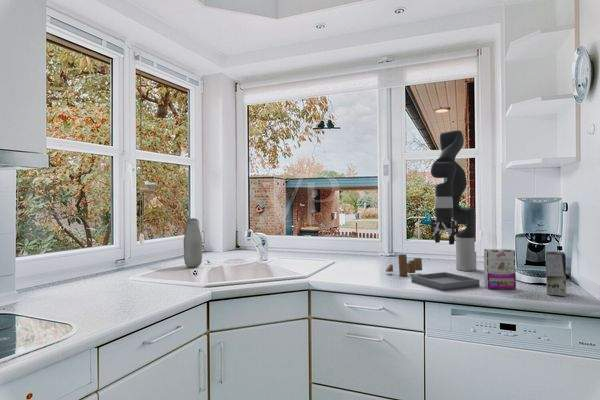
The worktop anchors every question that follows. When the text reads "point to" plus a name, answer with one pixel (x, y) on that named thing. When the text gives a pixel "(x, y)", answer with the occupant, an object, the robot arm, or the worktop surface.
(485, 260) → the candy bar box
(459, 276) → the tray
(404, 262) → the wooden block set
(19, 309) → the worktop surface
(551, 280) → the coffee box
